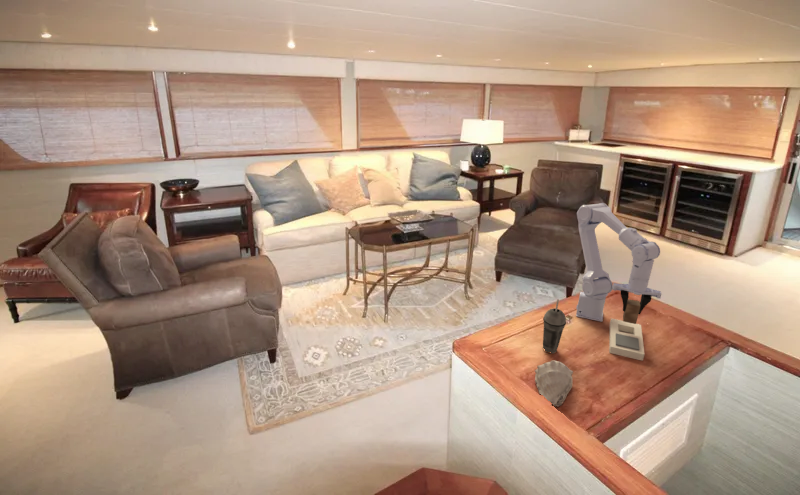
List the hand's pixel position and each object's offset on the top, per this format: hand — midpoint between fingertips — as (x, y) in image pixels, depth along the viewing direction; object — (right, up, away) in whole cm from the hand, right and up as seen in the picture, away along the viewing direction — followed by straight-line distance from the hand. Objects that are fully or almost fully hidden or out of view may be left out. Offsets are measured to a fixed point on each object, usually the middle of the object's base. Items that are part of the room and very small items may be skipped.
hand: (631, 311), depth 146 cm
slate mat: (-4, -10, -4) cm, 11 cm away
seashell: (-35, -20, -23) cm, 46 cm away
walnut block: (0, -3, +1) cm, 3 cm away
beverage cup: (-30, -13, -3) cm, 33 cm away
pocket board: (-1, -11, +1) cm, 11 cm away
